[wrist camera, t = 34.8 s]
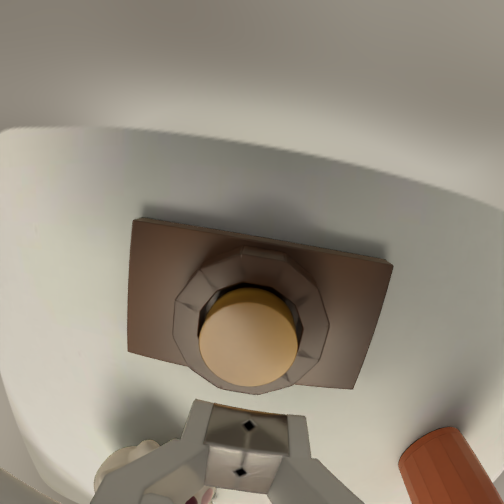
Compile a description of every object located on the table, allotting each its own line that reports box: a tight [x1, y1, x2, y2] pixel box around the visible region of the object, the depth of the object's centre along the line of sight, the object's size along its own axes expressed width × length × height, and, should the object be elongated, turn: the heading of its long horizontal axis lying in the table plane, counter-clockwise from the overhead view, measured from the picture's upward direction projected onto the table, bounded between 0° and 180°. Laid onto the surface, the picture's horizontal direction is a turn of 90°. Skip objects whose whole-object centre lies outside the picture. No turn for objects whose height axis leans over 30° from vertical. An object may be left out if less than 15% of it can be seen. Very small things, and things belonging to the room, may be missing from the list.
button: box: [199, 287, 298, 387], centre depth 13 cm, size 4×4×2 cm
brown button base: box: [127, 217, 393, 395], centre depth 15 cm, size 13×8×3 cm, turn 81°
